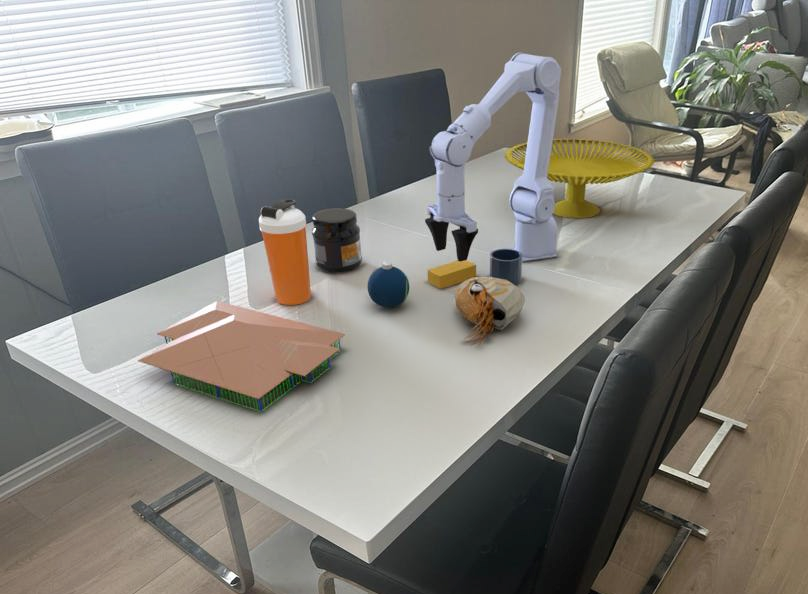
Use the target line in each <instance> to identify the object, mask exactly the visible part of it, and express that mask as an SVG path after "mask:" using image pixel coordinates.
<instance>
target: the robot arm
mask: <svg viewBox="0 0 808 594" xmlns="http://www.w3.org/2000/svg"><path fill="white" fill-rule="evenodd" d="M561 76H562V68H561V66H560V65H559V63H558V62H557V60H556V59H555V58H554V57H551V56H541V55H535V54H534V55H533V54H529V53H525V52H516V53H515V54H513V56H512V57H511V58H510V59H509V61H507V62H506V63H505V64H504V70H503V73H502V74H501V75H500V77H498V79H497V80H496V82H495V83H494V84H493V85H492V87H491V88H490V89H489V91H488V92H487V93H486V95H484V96H483V98H482V99H481V100H480V101H479V103H478V104H474V103H471V104H470V105H465V106H464V108H462V113H461V114H460V115H459V116H458V117H457V118H456V119H455V121H454V122H452V123H451V124H450V125H449V126H448V127H447V129H446V130H443V131H440V132H438V133H437V134H436V135H435V136H434V137H433V139H432V141H431V146H430V145H429V152H430V155H431V157H432V158H433V159H434V167H435V168H436V171H435V172H436V204H435V203H433V204H429V205H426V214H427V215H428V216H429V217H428V218H425V220H424V222H425V224H426V226H427V228H428V230H429V232H430V234H431V237H432V240H433V243H434V247H435V250H436V251H437V252H439V251H443V250H446V248H447V239H448V238H447V237H448V235H447V234H448V229H449V225H450V224H452V225H454V226H456V227H459V228H457V229H453V230H451V235H452V238H453V239H454V243H455V248H456V250H455V251H456V259H457V261H459V262H461V261H464V260H467V261H468V258H469V254H470V250H471V247H472V244H473V241H474V240H475V238H476V236H477V235H478V233H479V229H478V226H477V225H478V222H477V221H475V220H474V219H472V218H471V217H470V216H469V214H467V213H466V207H465V206H466V202H465V201H466V200H465V199H466V195H465V194H466V193H465V191H466V187H465V186H466V185H465V184H466V182H465V181H466V179H465V175H466V174H465V173H466V172H465V171H466V169H465V166H466V165H465V164H466V162H468V161H469V159H470V157H471V155H472V150H473V148H474V145H475V143H476V142H478V140H480V138H481V137H482V136H483V135H484V134H485V132H486V131H487V130H488V129H490V127H491V125H492V116H493V115H494V114H496V113H497V112H498V111H499V110H500V109H501V108H502V107H503V106H504V105H505V104H506V103H507V102H508V101H509V100H510V99H511V98H512V97H513V96H515V95H516V94H517V93H521V92H522V93H523V92H524V93H526V95H527V96H528V97H529V99H530V100H531V102H532V106H531V113H530V122H529V128H528V135H527V141H526V142H527V148H526V152H525V153H526V157H525V164H524V170H523V173H522V175H521V176H519V177H518V178H517V179H516V180H515V181H514V182H513V183H514V185H513V189H512V191H511V193H510V195H509V200H508V204H509V208H510V210H511V211H512V212H513V217H514V218H515V225H514V227H515V229H514V247H513V246H512V247H508V249H513V250H517V251H519V252H521V253H522V263H523V262H529V261H530V262H531V261H537V260H544V259H552V258H557V257H558V254H557V243H558V242H557V239H558V226H557V221H556V219H555V218H554V217H553V214H554V213H553V212H554V209H555V203H556V201H555V188H554V186H553V184H552V183H551V181H550V180H548V178H547V174H548V168H549V161H550V155H551V149H552V148H553V146H552V142H553V139H554V136H555V135H554V134H555V129H556V128H555V127H556V122H557V115H558V108H559V102H560V83H561Z"/></svg>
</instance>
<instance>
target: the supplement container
mask: <svg viewBox="0 0 808 594" xmlns="http://www.w3.org/2000/svg"><path fill="white" fill-rule="evenodd" d="M357 223H358V218H357V213H356V212H355V211H353V210H351V209H348V208H338V207H337V208H336V207H334V208H326V209H322V210H318V211H317V212H315V213H314V214H313V215H312V225H313V228H312V229H311V235H312V240H313V247H314V249H313V250H314V254H315V266H316V267H317V268H318V269H320V270H321V271H324V272H326V273H330V274H331V273H332V274H341V273H348V272H351V271H354V270H356V269H358V268H359V267H360V266H361V265H362V262H363V256H362V246H361V228H360V226H359V225H358V224H357Z"/></svg>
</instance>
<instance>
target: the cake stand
mask: <svg viewBox="0 0 808 594" xmlns="http://www.w3.org/2000/svg"><path fill="white" fill-rule="evenodd" d="M527 142H528V141H526V142H525V143H520V144H516V145H514V146H512V147H510V148H508V149H507V150H505V152H504V159H505V160H506V162H508V163H509V164H511V165H512V166H513V167H516V168H518V169H520V170H522V171H524V164H525V157H526V150H527ZM561 142H562V143H561ZM580 142H581V143H580ZM586 142H587V145H586ZM562 144H563V147H562ZM580 144H581V145H580ZM592 144H593V146H592ZM574 145H575V146H574ZM598 145H599V146H598ZM604 145H605V146H604ZM617 145H618V146H617ZM568 146H569V150H568ZM579 146H580V147H579ZM585 146H586V150H585ZM591 146H592V149H591ZM597 146H598V147H597ZM610 146H611V147H610ZM574 147H575V148H574ZM603 147H604V148H603ZM609 147H610V148H609ZM552 148H553V149H552ZM552 148H551V155H550V161H549V168H548V174H547V178H548V180H549V182H555V183H557V182H559V183H561V184H562V183H564V184H566V192H565V193H566V194H565V195H566V196H565V198H564V199H562V200H560V201H556V202H555V209H554V212H553V214H554V215H555V216H559V217H562V218H568V219H569V218H570V219H587V218H591V217H595V216H597V215H599V214H600V211H601V210H600V208H599V207H598V206H597V205H595V204H593V203H591V202H589V201H588V200H586V199H585V197H586V187H587V185H589V184H590V185H593V184H595V185H598V184H601V185H602V184H604V183H605V184H608V183H613V182H614V183H615V182H617V181H618V182H619V181H620V180H623V179H626V178H629V177H632V176H635V175H637V174H640V173H642V172H645V171H647V170H649V169H651V167H653V166H654V165H655V158H654V157H653V155H651V153H648V151H645V150H643V149H641V148H637V147H636V146H631V145H626V143H625V144H624V143H620V142H614V141H608V140H602V139H599V140H598V139H588V138H586V139H585V138H553V142H552ZM597 148H598V149H597ZM563 149H564V150H563ZM579 149H580V152H579ZM590 149H591V151H590ZM596 149H597V150H596ZM614 149H615V150H614ZM620 149H621V150H620ZM553 150H554V151H553ZM558 150H559V151H558ZM574 150H575V151H574ZM607 150H608V151H607ZM613 150H614V151H613ZM584 151H585V154H584ZM595 151H596V152H595ZM606 151H607V152H606ZM612 151H613V152H612ZM600 152H601V153H600ZM611 152H612V153H611ZM589 153H590V154H589ZM594 153H595V154H594ZM605 153H606V154H605Z"/></svg>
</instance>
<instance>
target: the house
mask: <svg viewBox="0 0 808 594" xmlns="http://www.w3.org/2000/svg"><path fill="white" fill-rule="evenodd" d="M156 335H157V336H161V337H163V338H164V341H165V343H166V344H164V345H163V346H161V347H159V348H156V349H155V350H153V351H151V352H150V353H148V354H146V355H144V356H143V357H141V358H139V359H138V360H137V362H139V363H142V364H145V365H149V366H152V367H154V368H158V369H162V370H165V371H168V372H170V376H171V380H172V384H173V385H177V386H180V387H182V388H186V389H189V390H191V391H192V390H193V391H195V392H199V393H202V394H204V395H207V396H211V397H213V398H218V399H220V400H223V401H226V402H229V403H232V404H236V405H238V406H241V407H244V408H248V409H251V410H254V411H257V412H260V413H262V412H263V411H265V410H266V409H267V408H269V407H270V406H271V405H273V404H274V403H276V401H277V400H279V399H280V398H281V397H283V396H284V395H286V393H288V392H289V391H290V390H292V389H293V388H294V387H296V386H297V385H298V384H300V383H301V382H302V381H303V382H306V383H310V384H311V383H313V381H315V380H316V379H318V378H319V377H320V376H322V375H323V374H324V373H325V372H327V371H328V370H329V369H331V361H330V360H332V358H334V357H335V356H336V355H338V354H340V352H341V351H342V350H341V349H342V348H341V340H340V339H342V338H343V337H345V336H346V333H343V332H339V331H336V330H332V329H328V328H323V327H320V326H316V325H312V324H308V323H304V322H301V321H297V320H294V319H293V320H292V319H289V318H284V317H281V316H277V315H273V314H269V313H265V312H262V311H261V312H260V311H258V310H254V309H250V308H246V307H242V306H238V305H234V304H231V303H226V302H223V301H219V300H216V301H214V302H212V303H210V304H209V305H207V306H205V307H203V308H201V309H199V310H197V311H196V312H194V313H192V314H191V315H189V316H186V317H184V318H183V319H181V320H179V321H178V322H175V323H174V324H172V325H169V326H168V327H166V328H164V329H163V330H160V331H159V332H157V333H156ZM320 367H321V373H320ZM323 368H324V370H323ZM317 369H318V373H317ZM314 372H315V377H314ZM293 374H294V375H293ZM311 374H312V378H311ZM307 375H308V379H309V381H308V380H307ZM297 376H298V379H297ZM303 377H305V379H303ZM294 378H295V383H296V384H295V383H294ZM191 379H192V380H191ZM181 380H182V381H181ZM195 380H196V381H195ZM298 380H299V381H298ZM185 381H186V382H185ZM188 381H189V382H188ZM198 381H199V382H198ZM178 382H179V383H180V384H179V383H178ZM192 382H193V385H192ZM182 383H183V385H182ZM185 383H186V384H185ZM189 383H190V386H189ZM196 384H197V387H196ZM206 384H207V385H206ZM281 384H282V385H281ZM186 385H187V386H186ZM199 385H200V386H199ZM285 385H286V388H285ZM193 386H194V388H193ZM203 386H204V388H203ZM278 386H279V387H278ZM200 387H201V390H202V391H201V390H200ZM207 387H208V390H209V393H208V391H207ZM282 387H283V391H282ZM197 388H198V390H197ZM274 388H275V389H274ZM204 389H205V392H204ZM223 389H224V390H223ZM286 389H287V391H286ZM211 390H212V393H211ZM278 390H279V391H280V396H279V391H278ZM271 391H272V392H271ZM220 392H221V394H220ZM223 392H224V393H223ZM275 392H276V394H277V398H276V396H275ZM282 392H284V393H282ZM235 393H236V394H235ZM268 393H269V394H268ZM238 394H240V395H238ZM228 395H229V399H230V400H228ZM231 395H232V396H233V401H232V397H231ZM242 395H243V396H242ZM272 395H273V399H274V401H273V400H272ZM235 396H236V398H237V402H236V399H235ZM246 396H247V397H246ZM264 396H265V397H264ZM224 397H225V398H224ZM239 397H240V399H239ZM250 398H251V399H250ZM261 398H262V400H261ZM268 398H270V404H269V399H268ZM243 399H244V401H245V405H244V402H243ZM240 400H241V403H240ZM247 400H248V403H249V406H248V403H247ZM265 400H266V403H267V406H266V404H265ZM251 401H252V404H253V407H252V405H251ZM262 402H263V407H264V408H262V404H261V403H262ZM255 404H256V406H255ZM258 407H259V408H258Z"/></svg>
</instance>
